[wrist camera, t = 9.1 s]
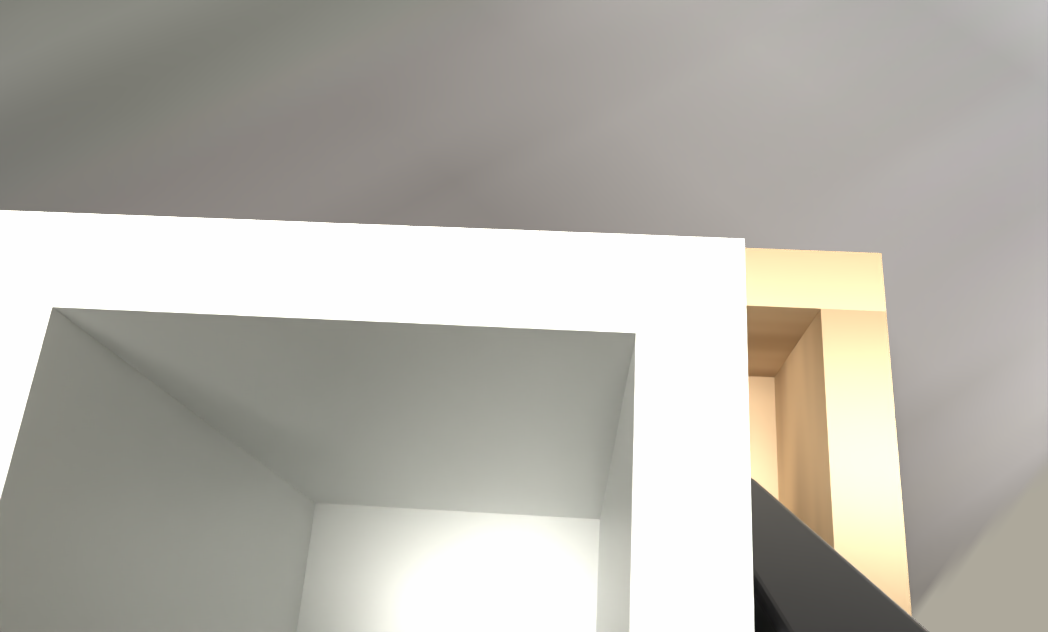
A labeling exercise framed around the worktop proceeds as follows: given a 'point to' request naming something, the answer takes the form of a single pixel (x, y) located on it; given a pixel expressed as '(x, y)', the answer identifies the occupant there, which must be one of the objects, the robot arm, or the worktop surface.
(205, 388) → the white crate
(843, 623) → the robot arm
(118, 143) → the worktop surface
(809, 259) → the pine crate
